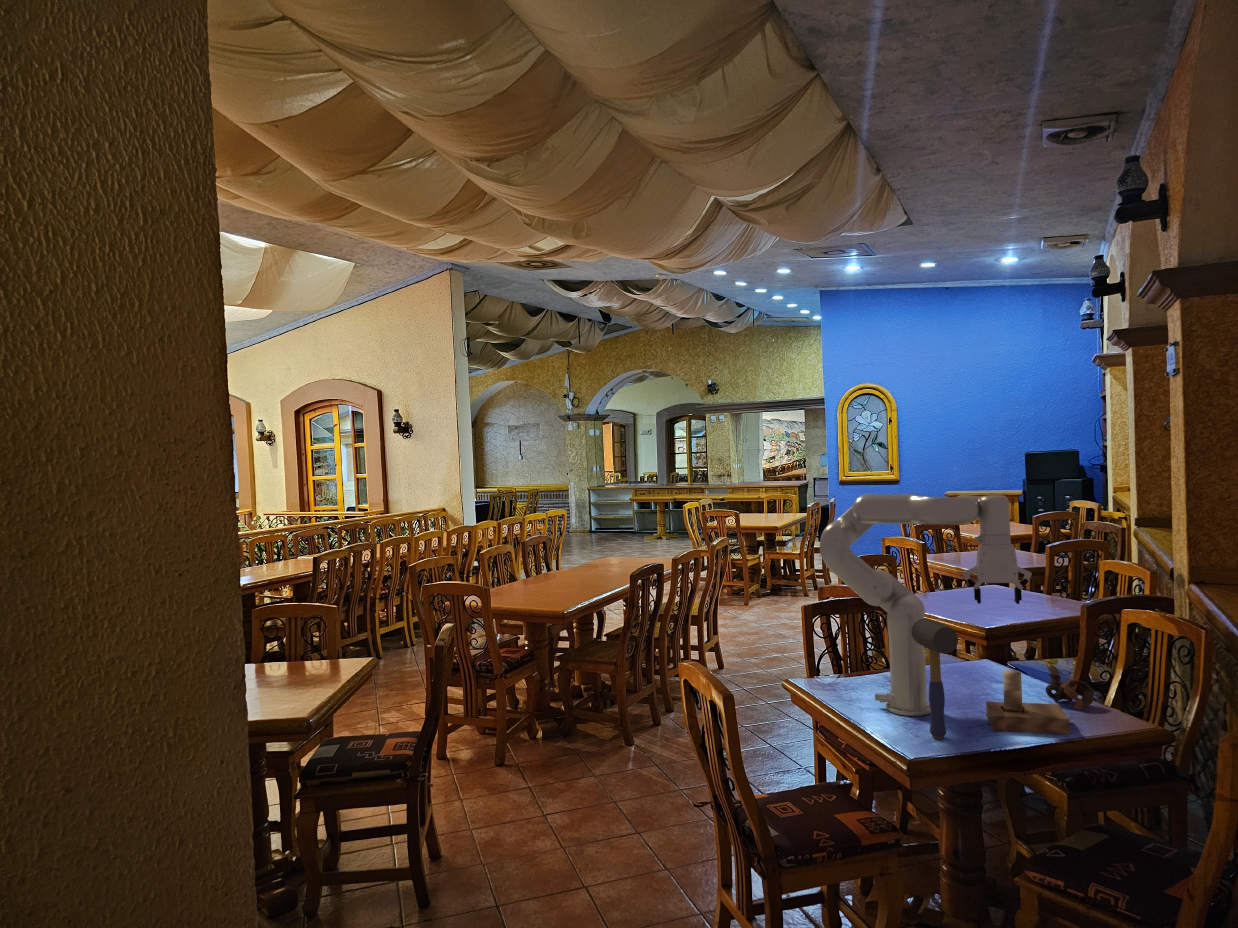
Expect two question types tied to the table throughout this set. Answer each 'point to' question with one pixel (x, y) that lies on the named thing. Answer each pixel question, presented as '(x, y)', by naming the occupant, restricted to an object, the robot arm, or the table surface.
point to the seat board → (1028, 718)
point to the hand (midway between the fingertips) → (997, 602)
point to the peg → (1012, 691)
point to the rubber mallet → (935, 666)
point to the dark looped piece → (1071, 693)
